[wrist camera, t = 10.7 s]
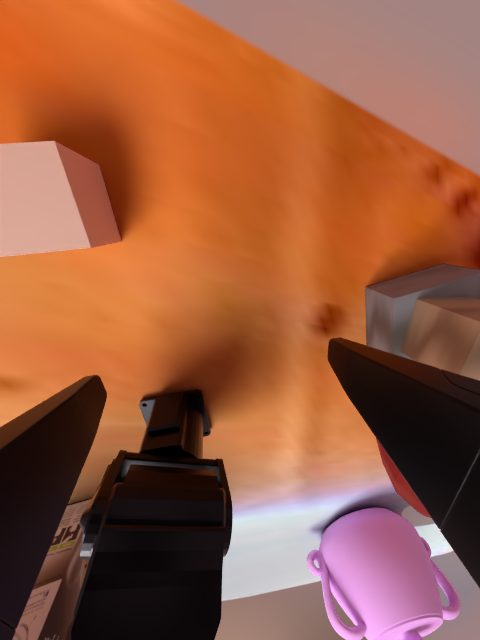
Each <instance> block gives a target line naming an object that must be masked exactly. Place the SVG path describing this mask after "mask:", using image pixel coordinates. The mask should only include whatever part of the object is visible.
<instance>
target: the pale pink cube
mask: <svg viewBox="0 0 480 640" xmlns="http://www.w3.org/2000/svg"><path fill="white" fill-rule="evenodd" d="M117 242H121V238H120V235H119V231H118V228H117V224H116V221H115V217H114V214H113V210H112V207H111V203H110V200H109V197H108V193H107V190H106V186H105V183H104V179H103V176H102V172H101V169H100V165H99V164H97V163H95V162H93V161H91V160H89V159H87V158H86V157H84V156H82V155H80V154H78V153H76V152H74V151H73V150H71V149H69V148H67V147H65V146H63V145H61V144H60V143H58V142H56V141H42V142H26V143H10V144H0V257H5V256H15V255H25V254H35V253H45V252H54V251H64V250H74V249H84V248H92V247H97V246H102V245H107V244H112V243H117Z"/></svg>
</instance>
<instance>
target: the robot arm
mask: <svg viewBox="0 0 480 640" xmlns="http://www.w3.org/2000/svg"><path fill="white" fill-rule="evenodd" d="M328 361H329V363H330V365H331V367H332V369H333V371H334V372H335V374H336V376H337V378H338V380H339V382H340V384H341V385H342V387H343V389H344V391H345V392H346V394H347V396H348V397H349V399H350V400H351V402H352V403H353V404H354V406H355V407H356V409H357V410H358V412H359V413H360V415H361V416H362V418H363V419H364V420H365V422H366V423H367V425H368V426H369V428H370V429H371V431H372V432H373V434H374V435H375V436H376V438H377V439H378V441H379V442H380V444H381V445H382V447H383V448H384V449H385V451H386V452H387V454H388V455H389V457H390V458H391V460H392V461H393V463H394V464H395V465H396V467H397V468H398V470H399V471H400V473H401V474H402V476H403V477H404V479H405V480H406V481H407V483H408V484H409V486H410V487H411V489H412V490H413V492H414V493H415V495H416V496H417V497H418V499H419V500H420V502H421V503H422V505H423V506H424V508H425V509H426V510H427V512H428V513H429V515H430V516H431V518H432V519H433V521H434V522H435V524H436V525H437V526H438V528H439V529H441V530H440V531H441V533H442V534H443V536H444V537H445V538H446V540H447V541H448V543H449V544H450V546H451V547H452V549H453V550H454V552H455V553H456V554H457V556H458V557H459V559H460V560H461V562H462V563H463V565H464V566H465V567H466V569H467V570H468V572H469V573H470V575H471V576H472V578H473V579H474V581H475V582H476V583H477V585H478V586H479V588H480V381H479V380H476V379H473V378H469V377H466V376H463V375H459V374H456V373H453V372H450V371H446V370H443V369H441V370H440V369H439V368H437V367H433V366H430V365H427V364H424V363H420V362H417V361H414V360H411V359H408V358H404V357H401V356H398V355H395V354H392V353H388V352H385V351H382V350H379V349H376V348H372V347H369V346H366V345H363V344H359V343H356V342H353V341H350V340H347V339H343V338H333V339H330V340H329V345H328ZM197 394H199V395H197ZM106 398H107V393H106V390H105V388H104V385H103V383H102V381H101V378H100V377H99V376H98V375H92V376H86V377H84V378H82V379H80V380H79V381H77V382H75V383H74V384H72V385H70V386H69V387H67V388H65V389H64V390H62V391H60V392H59V393H57V394H55V395H54V396H52V397H50V398H49V399H47V400H45V401H43V402H42V403H40V404H38V405H37V406H35V407H33V408H32V409H30V410H28V411H27V412H25V413H23V414H22V415H20V416H18V417H17V418H15V419H13V420H12V421H10V422H8V423H7V424H5V425H3V426H2V427H0V640H13V637H14V635H15V632H16V630H15V629H16V628H17V627H18V624H19V622H20V619H21V617H22V615H23V612H24V610H25V607H26V605H27V602H28V600H29V597H30V595H31V593H32V590H33V588H34V585H35V583H36V580H37V578H38V575H39V573H40V571H41V568H42V566H43V563H44V561H45V558H46V556H47V554H48V551H49V549H50V546H51V544H52V541H53V539H54V536H55V534H56V532H57V529H58V527H59V524H60V522H61V519H62V517H63V515H64V512H65V510H66V507H67V505H68V502H69V500H70V497H71V495H72V493H73V490H74V488H75V485H76V483H77V480H78V478H79V475H80V473H81V471H82V468H83V466H84V463H85V461H86V458H87V456H88V454H89V451H90V449H91V446H92V444H93V441H94V438H95V436H96V433H97V429H98V426H99V423H100V419H101V416H102V412H103V409H104V406H105V402H106ZM144 403H146V404H144ZM139 406H140V409H141V411H142V414H143V417H144V419H145V422H146V425H147V427H146V431H145V434H144V437H143V441H142V444H141V447H140V451H139V453H132V452H127V451H123V450H120V451H119V454H118V456H117V458H116V459H114V460H113V462H112V464H110V465H108V467H107V470H106V472H105V475H104V477H103V479H102V482H101V484H100V486H99V488H98V490H97V491H96V493H95V494H94V496H93V498H92V499H91V501H90V502H89V504H88V506H87V507H86V509H85V510H84V512H83V514H82V516H81V519H80V523H79V524H80V526H81V529H82V531H83V537H82V543H83V544H82V548H81V552H80V559H90V561H89V564H88V567H87V570H86V574H85V577H84V580H83V584H82V587H81V590H80V593H79V597H78V600H77V603H76V607H75V610H74V615H73V626H72V630H71V640H214V639H215V636H216V633H217V630H218V626H219V623H220V620H221V594H222V564H223V556H225V555H226V554H227V552H228V549H229V545H230V540H231V532H232V501H231V495H230V491H229V486H228V482H227V477H226V473H225V469H224V464H223V460H222V459H216V460H213V459H203V437H204V436H208V435H210V425H209V420H208V415H207V410H206V406H205V401H204V396H203V392H202V391H201V390H193V391H187V392H181V393H175V394H169V395H163V396H156V397H150V398H144V399H142V400H141V401H140V404H139ZM205 431H207V432H205Z"/></svg>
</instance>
